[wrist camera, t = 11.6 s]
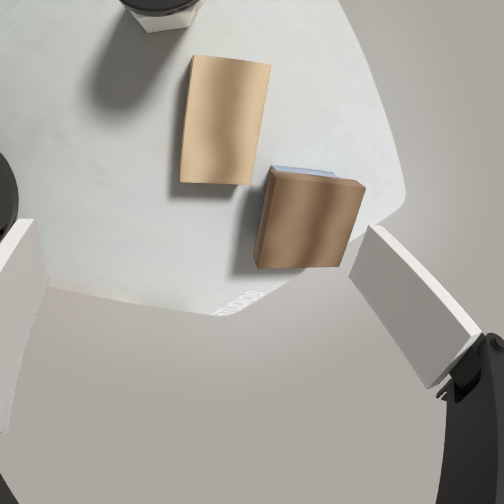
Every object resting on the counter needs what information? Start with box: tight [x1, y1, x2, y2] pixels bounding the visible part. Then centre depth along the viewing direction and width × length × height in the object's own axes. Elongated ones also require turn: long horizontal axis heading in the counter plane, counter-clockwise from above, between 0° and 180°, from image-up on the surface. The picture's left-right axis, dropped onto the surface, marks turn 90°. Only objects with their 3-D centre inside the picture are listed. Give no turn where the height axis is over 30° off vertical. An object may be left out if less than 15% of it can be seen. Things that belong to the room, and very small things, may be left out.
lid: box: [253, 170, 366, 268], centre depth 38 cm, size 12×12×2 cm
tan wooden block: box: [179, 55, 272, 185], centre depth 31 cm, size 8×14×4 cm, turn 170°
